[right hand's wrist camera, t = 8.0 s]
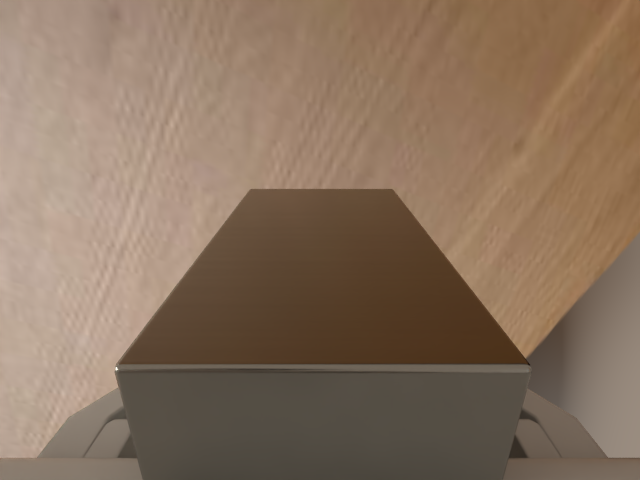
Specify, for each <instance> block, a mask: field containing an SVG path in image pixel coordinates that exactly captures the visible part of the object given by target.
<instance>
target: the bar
mask: <svg viewBox="0 0 640 480" xmlns="http://www.w3.org/2000/svg"><path fill="white" fill-rule="evenodd" d="M531 373H532V371H531V366H530V364H529V363H528V361H527V360H526V359H525V358H524V356H523V355H522V354H521V352H520V351H519V350H518V349H517V347H516V346H515V345H514V344H513V342H512V341H511V340H510V338H509V337H508V336H507V335H506V333H505V332H504V331H503V329H502V328H501V327H500V326H499V324H498V323H497V322H496V320H495V319H494V318H493V317H492V315H491V314H490V313H489V312H488V310H487V309H486V308H485V306H484V305H483V304H482V303H481V301H480V300H479V299H478V297H477V296H476V295H475V294H474V292H473V291H472V290H471V289H470V287H469V286H468V285H467V283H466V282H465V281H464V280H463V278H462V277H461V276H460V274H459V273H458V272H457V271H456V269H455V268H454V267H453V265H452V264H451V263H450V262H449V260H448V259H447V258H446V257H445V255H444V254H443V253H442V251H441V250H440V249H439V248H438V246H437V245H436V244H435V242H434V241H433V240H432V239H431V237H430V236H429V235H428V234H427V232H426V231H425V230H424V228H423V227H422V226H421V225H420V223H419V222H418V221H417V219H416V218H415V217H414V216H413V214H412V213H411V212H410V210H409V209H408V208H407V207H406V205H405V204H404V203H403V202H402V200H401V199H400V198H399V196H398V195H397V194H396V193H395V191H394V190H392V189H250V190H249V191H248V193H247V194H246V195H245V197H244V198H243V199H242V201H241V202H240V203H239V204H238V206H237V207H236V208H235V210H234V211H233V212H232V214H231V215H230V216H229V218H228V219H227V220H226V221H225V223H224V224H223V225H222V227H221V228H220V229H219V231H218V232H217V233H216V235H215V236H214V237H213V238H212V240H211V241H210V242H209V244H208V245H207V246H206V248H205V249H204V250H203V251H202V253H201V254H200V255H199V257H198V258H197V259H196V261H195V262H194V263H193V265H192V266H191V267H190V268H189V270H188V271H187V272H186V274H185V275H184V276H183V278H182V279H181V280H180V282H179V283H178V284H177V285H176V287H175V288H174V289H173V291H172V292H171V293H170V295H169V296H168V297H167V299H166V300H165V301H164V302H163V304H162V305H161V306H160V308H159V309H158V310H157V312H156V313H155V314H154V315H153V317H152V318H151V319H150V321H149V322H148V323H147V325H146V326H145V327H144V329H143V330H142V331H141V332H140V334H139V335H138V336H137V338H136V339H135V340H134V342H133V343H132V344H131V346H130V347H129V348H128V349H127V351H126V352H125V353H124V355H123V356H122V357H121V359H120V360H119V361H118V363H117V364H116V367H115V375H116V379H117V383H118V387H119V391H120V394H121V398H122V402H123V406H124V410H125V414H126V417H127V421H128V425H129V429H130V433H131V437H132V440H133V444H134V448H135V452H136V456H137V460H138V463H139V467H140V471H141V475H142V479H143V480H503V477H504V474H505V470H506V466H507V463H508V459H509V455H510V451H511V448H512V444H513V440H514V437H515V433H516V429H517V425H518V422H519V418H520V414H521V410H522V407H523V403H524V399H525V396H526V392H527V388H528V384H529V381H530V377H531Z"/></svg>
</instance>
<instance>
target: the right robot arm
mask: <svg viewBox="0 0 640 480" xmlns="http://www.w3.org/2000/svg"><path fill="white" fill-rule="evenodd" d="M0 480H143V479H142V475H141V471H140V467H139V463H138V460H137V456H136V452H135V448H134V444H133V440H132V437H131V433H130V429H129V425H128V421H127V417H126V414H125V410H124V406H123V402H122V398H121V394H120V391H119V387H118V388H117V389H115V390H113V391H112V392H110V393H108V394H107V395H105V396H103V397H102V398H100V399H98V400H97V401H95V402H93V403H92V404H90V405H88V406H87V407H85V408H84V409H82V410H80V411H79V412H77V413H75V414H74V415H72V416H70V417H69V418H68V419H67V420H66V422H65V423H64V424H63V425H62V427H61V428H60V429H59V430H58V432H57V433H56V434H55V435H54V437H53V438H52V439H51V441H50V442H49V443H48V444H47V446H46V447H45V448H44V449H43V451H42V452H41V453H40V454H39V456H38V457H37V458H0ZM503 480H640V458H608V457H607V456H606V455H605V453H604V452H603V451H602V450H601V448H600V447H599V446H598V445H597V443H596V442H595V441H594V439H593V438H592V437H591V436H590V434H589V433H588V432H587V431H586V429H585V428H584V427H583V426H582V424H581V423H580V422H579V421H578V419H577V418H575V417H574V416H572V415H570V414H569V413H567V412H565V411H564V410H562V409H560V408H559V407H557V406H556V405H554V404H552V403H551V402H549V401H547V400H546V399H544V398H542V397H541V396H539V395H537V394H536V393H534V392H532V391H531V390H529V389H527V392H526V396H525V399H524V403H523V407H522V410H521V414H520V418H519V422H518V425H517V429H516V433H515V437H514V440H513V444H512V448H511V451H510V455H509V459H508V463H507V466H506V470H505V474H504V477H503Z"/></svg>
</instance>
